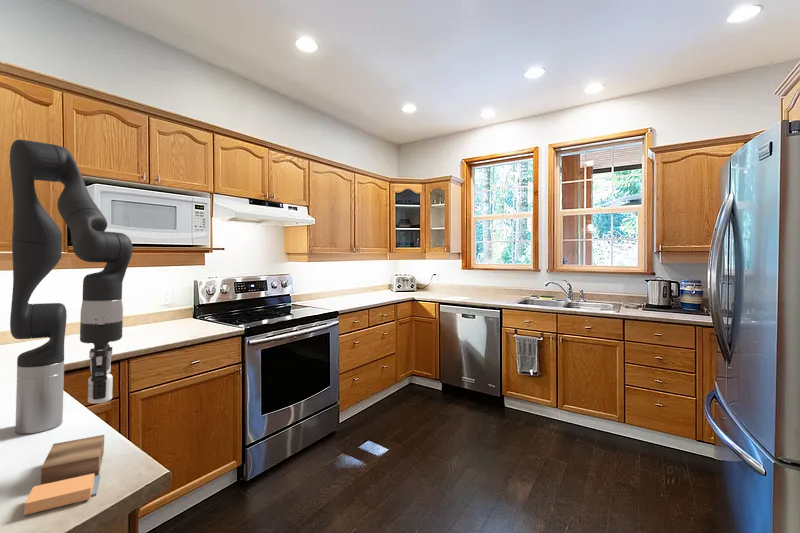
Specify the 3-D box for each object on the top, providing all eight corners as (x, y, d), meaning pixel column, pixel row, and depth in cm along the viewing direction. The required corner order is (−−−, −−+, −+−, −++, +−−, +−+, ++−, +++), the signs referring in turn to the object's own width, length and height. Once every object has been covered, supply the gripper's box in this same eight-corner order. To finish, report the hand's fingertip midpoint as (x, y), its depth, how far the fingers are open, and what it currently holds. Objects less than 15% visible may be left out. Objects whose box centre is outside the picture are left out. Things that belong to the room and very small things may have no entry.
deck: (53, 461, 85) (53, 443, 85) (103, 451, 90) (104, 434, 90) (40, 488, 75) (41, 468, 75) (98, 475, 80) (99, 456, 80)
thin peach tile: (24, 503, 66) (24, 515, 66) (90, 488, 71) (90, 498, 71) (33, 486, 71) (33, 497, 71) (94, 473, 76) (94, 483, 76)
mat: (48, 488, 75) (48, 486, 75) (100, 476, 79) (100, 474, 79) (39, 509, 69) (39, 506, 69) (96, 495, 73) (96, 493, 73)
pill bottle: (99, 396, 88) (100, 363, 88) (117, 397, 88) (118, 364, 88) (82, 403, 84) (83, 368, 83) (100, 404, 83) (101, 369, 83)
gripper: (83, 316, 89) (81, 388, 89) (76, 325, 77) (74, 408, 78) (123, 314, 93) (121, 383, 94) (122, 323, 82) (119, 402, 82)
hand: (100, 394), depth 86 cm, fingers closed on pill bottle, 4 cm apart
